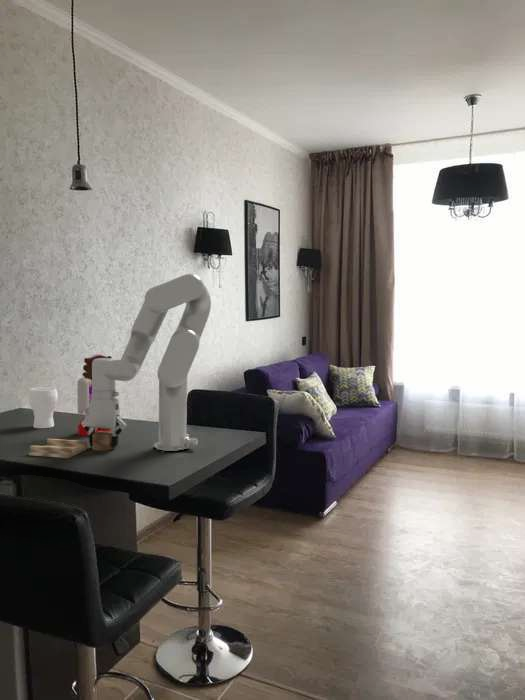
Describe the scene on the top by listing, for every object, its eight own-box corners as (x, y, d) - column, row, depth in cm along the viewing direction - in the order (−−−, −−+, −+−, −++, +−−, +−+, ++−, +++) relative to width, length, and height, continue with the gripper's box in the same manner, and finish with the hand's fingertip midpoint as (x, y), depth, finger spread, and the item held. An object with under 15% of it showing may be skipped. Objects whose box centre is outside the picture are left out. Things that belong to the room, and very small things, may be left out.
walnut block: (114, 447, 195) (114, 431, 195) (107, 451, 190) (107, 435, 189) (100, 446, 196) (100, 430, 196) (92, 450, 191) (92, 434, 190)
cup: (28, 424, 227) (28, 387, 226) (56, 422, 231) (56, 386, 230) (30, 430, 217) (29, 391, 216) (59, 428, 222) (58, 390, 221)
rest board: (87, 448, 192) (87, 440, 192) (68, 458, 180) (68, 449, 180) (49, 446, 194) (49, 438, 194) (29, 455, 183) (28, 446, 182)
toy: (104, 426, 226) (104, 351, 224) (120, 429, 222) (120, 353, 219) (68, 435, 211) (67, 355, 208) (84, 438, 206) (84, 356, 204)
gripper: (132, 394, 193) (132, 445, 195) (85, 391, 197) (85, 442, 198) (123, 397, 186) (122, 451, 188) (74, 395, 189) (74, 447, 191)
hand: (103, 446), depth 193 cm, fingers open, 7 cm apart
